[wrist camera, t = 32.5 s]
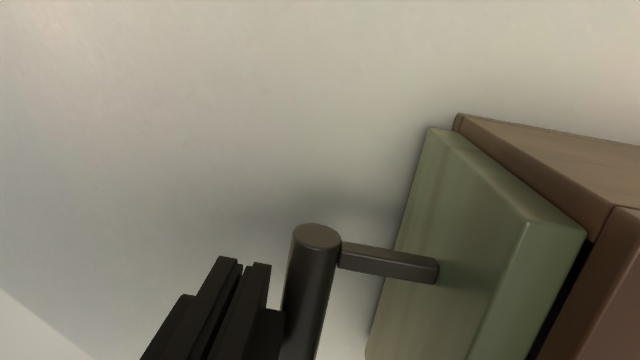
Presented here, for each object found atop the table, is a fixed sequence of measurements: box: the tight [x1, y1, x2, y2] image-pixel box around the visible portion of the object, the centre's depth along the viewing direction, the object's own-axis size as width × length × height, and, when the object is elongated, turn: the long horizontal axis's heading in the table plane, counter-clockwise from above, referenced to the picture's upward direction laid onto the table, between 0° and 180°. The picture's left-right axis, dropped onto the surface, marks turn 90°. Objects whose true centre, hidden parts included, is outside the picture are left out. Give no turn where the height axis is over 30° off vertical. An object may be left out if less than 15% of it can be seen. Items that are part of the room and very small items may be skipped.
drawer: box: [278, 128, 595, 360], centre depth 12 cm, size 18×11×8 cm, turn 80°
